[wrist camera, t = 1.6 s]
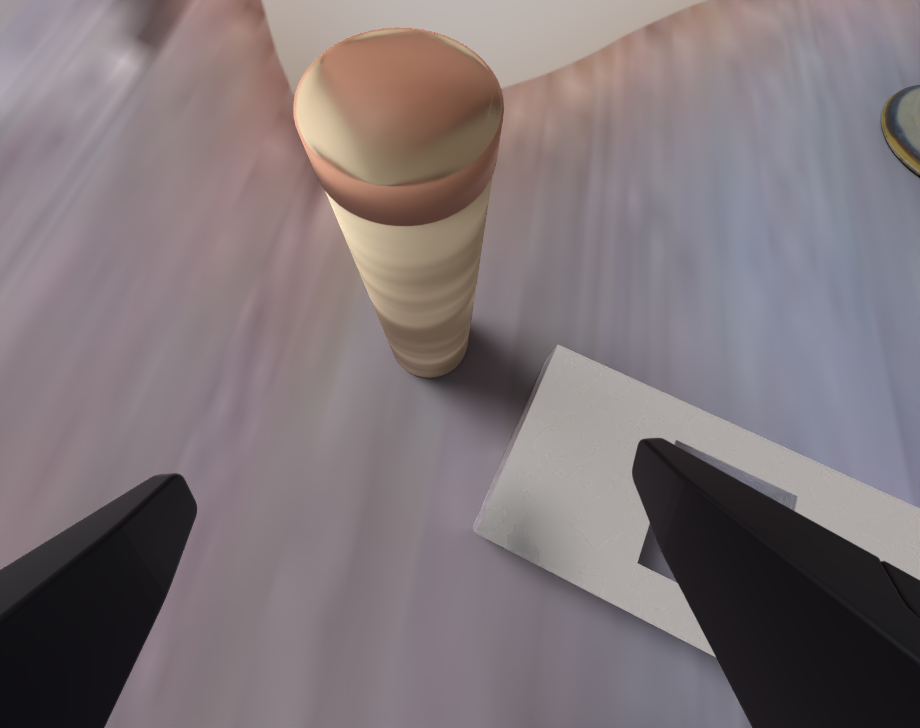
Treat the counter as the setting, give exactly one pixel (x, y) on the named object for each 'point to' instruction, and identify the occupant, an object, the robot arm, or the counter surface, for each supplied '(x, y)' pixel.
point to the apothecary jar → (904, 126)
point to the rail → (617, 500)
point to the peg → (407, 177)
